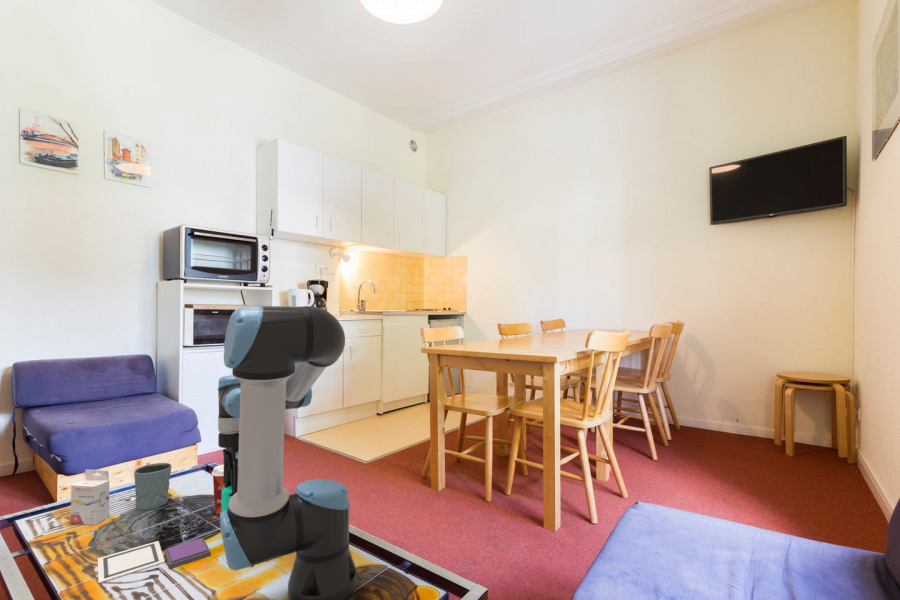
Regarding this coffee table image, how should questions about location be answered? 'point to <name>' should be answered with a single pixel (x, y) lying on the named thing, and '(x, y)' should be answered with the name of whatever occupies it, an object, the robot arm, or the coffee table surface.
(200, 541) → the ink pad
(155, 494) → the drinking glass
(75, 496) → the ink cartridge box
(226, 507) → the candle
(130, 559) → the marked card
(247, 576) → the coffee table surface
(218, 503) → the paper cup
